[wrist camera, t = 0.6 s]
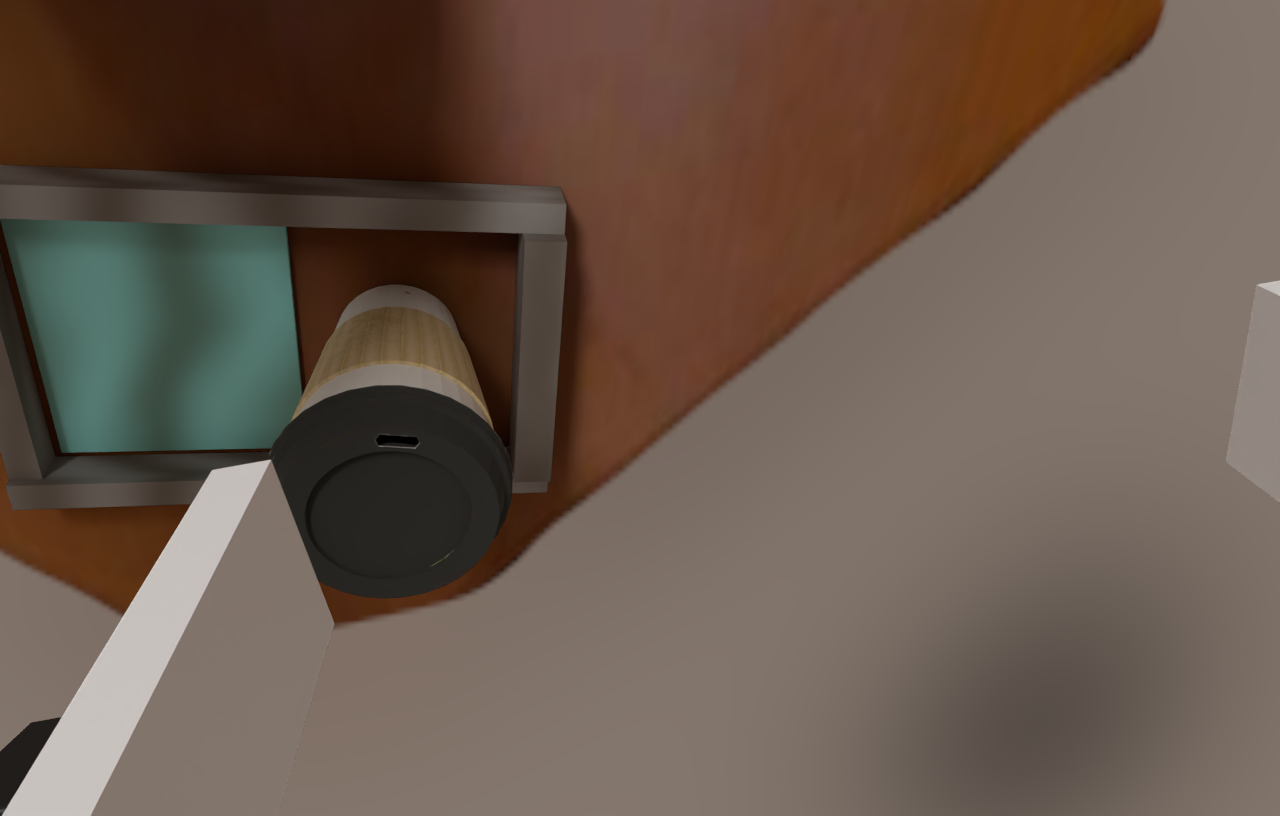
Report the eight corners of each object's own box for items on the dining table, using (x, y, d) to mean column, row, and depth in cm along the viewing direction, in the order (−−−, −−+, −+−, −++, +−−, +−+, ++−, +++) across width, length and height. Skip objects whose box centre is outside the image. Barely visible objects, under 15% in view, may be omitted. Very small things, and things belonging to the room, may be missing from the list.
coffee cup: (296, 410, 50) (255, 609, 37) (301, 239, 45) (255, 401, 32) (481, 423, 52) (500, 612, 40) (504, 262, 48) (533, 420, 35)
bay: (29, 480, 49) (5, 522, 46) (-63, 162, 40) (-101, 189, 37) (542, 466, 55) (549, 503, 52) (560, 186, 46) (569, 212, 43)
